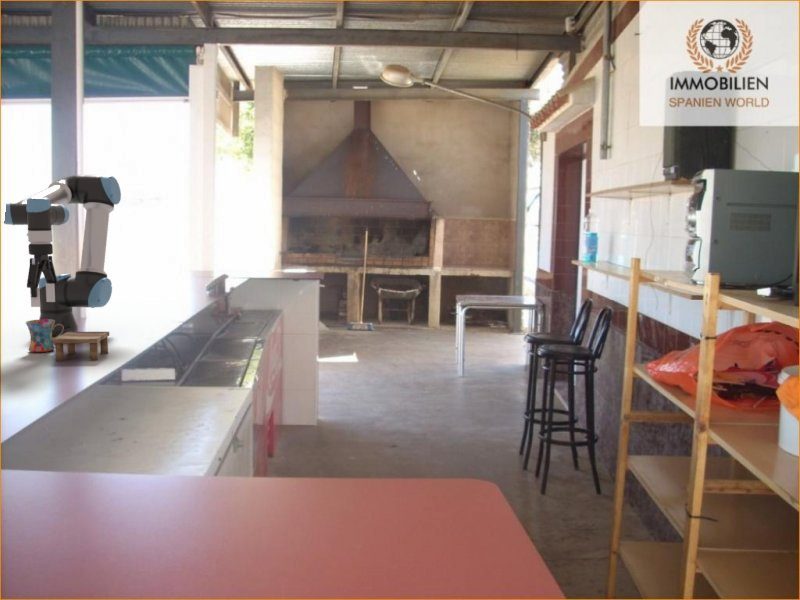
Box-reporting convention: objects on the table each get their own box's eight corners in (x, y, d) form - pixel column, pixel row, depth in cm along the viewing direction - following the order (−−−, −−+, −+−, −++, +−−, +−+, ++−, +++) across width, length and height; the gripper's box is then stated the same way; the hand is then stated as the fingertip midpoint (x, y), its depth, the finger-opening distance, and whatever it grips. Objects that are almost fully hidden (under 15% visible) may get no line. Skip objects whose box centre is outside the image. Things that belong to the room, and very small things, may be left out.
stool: (68, 352, 264) (67, 331, 263) (110, 352, 265) (109, 331, 264) (53, 361, 250) (52, 339, 250) (97, 360, 252) (96, 338, 251)
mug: (27, 354, 261) (25, 324, 259) (27, 349, 269) (25, 320, 268) (65, 351, 266) (64, 321, 265) (64, 347, 274) (62, 318, 273)
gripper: (43, 241, 275) (46, 299, 277) (13, 244, 250) (17, 309, 253) (64, 241, 275) (67, 299, 278) (37, 244, 251) (40, 308, 253)
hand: (43, 304), depth 265 cm, fingers open, 13 cm apart
